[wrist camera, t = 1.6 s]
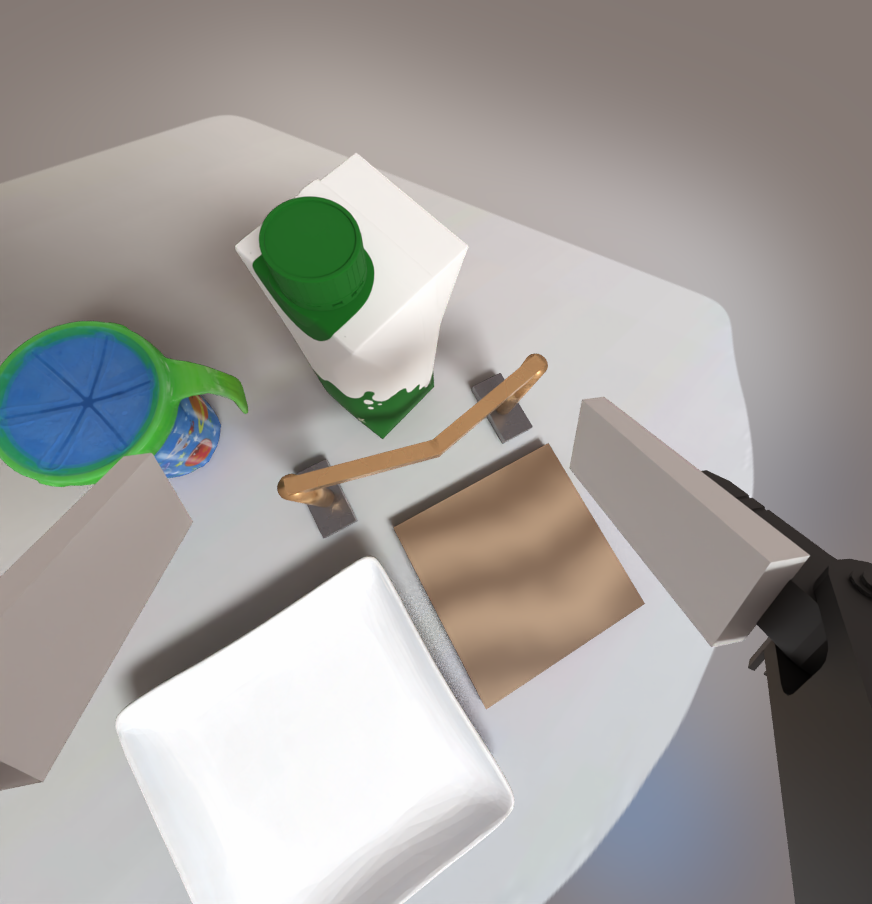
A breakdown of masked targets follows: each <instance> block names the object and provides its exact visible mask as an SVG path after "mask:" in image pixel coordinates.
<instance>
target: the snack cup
mask: <svg viewBox="0 0 872 904" xmlns="http://www.w3.org/2000/svg"><path fill="white" fill-rule="evenodd" d="M206 393H210V394H215V395H217V396H221V397H225V398H228V399H231V400H233V401H234V402H235V403H236V404H237V406H238V407H239V408H240V409H241V411H242V412H243V413H244V414H247V413H248V406H247V402H246V398H245V394H244V390H243V387H242V385H241V382H240V381H239V380H238V379H237V378H235V377H233V376H232V375H228V374H226V373H223V372H221V371H218V370H215V369H213V368H210V367H207V366H204V365H200V364H196V363H191V362H187V361H180V360H173V359H169V358H166V357H164V355H163V354H162V353H161V352H160V351H159V350H158V349H157V348H156V347H154V346H153V345H152V344H151V343H150V342H148V341H147V340H146V339H144V338H143V337H141V336H140V335H138V334H137V333H135V332H133V331H131V330H129V329H128V328H127V327H125V326H123V325H120V324H116V323H110V322H109V323H105V322H98V321H79V322H72V323H67V324H63V325H59V326H56V327H53V328H50V329H48V330H45V331H43V332H41V333H39V334H37V335H35V336H34V337H32V338H31V339H29V340H27V341H26V342H24V343H23V344H22V345H20V346H19V347H18V348H17V349H16V350H15V351H13V352H12V353H11V354H10V355H9V356H8V358H7V359H6V360H5V361H4V362H3V363H2V365H1V366H0V458H1V459H2V460H3V461H4V462H5V463H6V464H7V465H8V466H9V467H11V468H12V469H13V470H14V471H16V472H18V473H20V474H22V475H24V476H26V477H29V478H32V479H35V480H37V481H38V482H39V483H40V484H45V485H49V486H56V487H65V486H70V485H73V486H83V485H91V484H96V483H97V482H98V481H99V480H100V479H101V478H102V477H103V476H104V475H105V474H106V473H107V472H108V471H109V470H110V469H111V468H112V467H113V466H114V465H115V464H116V463H117V462H118V461H119V460H121V459H122V458H123V457H124V456H131V455H139V454H147V453H152V454H153V455H154V457H155V459H156V460H157V462H158V464H159V465H160V467H161V469H162V470H163V472H164V474H165V475H166V477H167V478H173V477H180V476H183V475H186V474H189V473H191V472H193V471H195V470H196V469H198V468H200V467H203V466H204V465H205V464H206V463H207V462H209V460H210V458H211V456H212V454H213V453H214V451H215V449H216V447H217V444H218V441H219V436H220V427H221V424H220V422H219V419H218V417H217V416H216V414H215V412H214V410H213V409H212V408H211V407H210V405H209V404H208V403H207V402H206V400H204V399H203V398H202V397H201V396H200V395H201V394H206Z"/></svg>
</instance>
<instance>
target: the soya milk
mask: <svg viewBox="0 0 872 904" xmlns="http://www.w3.org/2000/svg"><path fill="white" fill-rule="evenodd" d="M467 249H468V245H467V244H465V243H464V242H463V241H462V240H461V239H459V238H458V237H457V236H456V235H455V234H453V233H452V232H451V231H450V230H449V229H447V228H446V227H445V226H444V225H443V224H441V223H440V222H439V221H438V220H437V219H435V218H434V217H433V216H432V215H431V214H429V213H428V212H427V211H426V210H425V209H423V208H422V207H421V206H420V205H419V204H417V203H416V202H415V201H414V200H413V199H411V198H410V197H409V196H408V195H407V194H405V193H404V192H403V191H402V190H401V189H399V188H398V187H397V186H396V185H395V184H393V183H392V182H391V181H390V180H389V179H387V178H386V177H385V176H384V175H383V174H381V173H380V172H379V171H378V170H377V169H375V168H374V167H373V166H372V165H371V164H369V163H368V162H367V161H366V160H364V159H363V158H362V157H361V156H360V155H358V154H357V153H355V154H354V155H352V156H351V157H350V158H348V159H347V160H346V161H344V162H343V163H342V164H341V165H339V166H338V167H337V168H336V169H334V170H333V171H332V172H330V173H329V174H328V175H327V176H325V177H324V178H323V179H322V180H319V179H316V180H314V181H312V182H311V183H310V184H308V185H307V186H306V187H305V188H303V189H302V190H301V191H300V193H299V194H298V195H297V196H296V197H295V198H293V199H291V200H288V201H286V202H284V203H282V204H280V205H278V206H277V207H276V208H274V209H273V210H272V211H271V212H270V213H269V214H268V215H267V217H266V218H265V220H264V221H263V223H262V224H261V225H260V226H258V227H257V228H256V229H255V230H253V231H252V232H251V233H250V234H248V235H247V236H246V237H245V238H243V239H242V240H241V241H240V242H239V243H237V244H236V245H235V250H236V252H237V253H238V255H239V256H240V258H241V259H242V261H243V262H244V263H245V265H246V266H247V268H248V269H249V271H250V272H251V274H252V275H253V277H254V278H255V280H256V281H257V283H258V284H259V286H260V287H261V289H262V290H263V292H264V293H265V295H266V296H267V298H268V299H269V301H270V302H271V304H272V305H273V307H274V308H275V310H276V311H277V313H278V314H279V316H280V317H281V319H282V320H283V322H284V323H285V325H286V326H287V328H288V329H289V331H290V332H291V334H292V336H293V337H294V339H295V341H296V342H297V344H298V345H299V347H300V349H301V350H302V352H303V354H304V355H305V357H306V359H307V360H308V362H309V363H310V365H311V367H312V368H313V370H314V372H315V373H316V375H317V377H318V378H319V380H320V381H321V383H322V385H323V386H324V388H325V389H326V391H327V392H328V393H329V394H330V395H331V396H332V397H333V398H334V399H335V400H336V401H337V402H339V403H340V404H341V405H342V406H343V407H344V408H345V409H346V410H347V411H349V412H350V413H351V414H352V415H353V416H354V417H356V418H357V419H358V420H359V421H361V422H362V423H363V424H364V425H366V426H367V427H368V428H369V429H371V430H372V431H373V432H374V433H376V434H377V435H378V436H379V437H381V438H382V439H383V438H384V437H385V436H386V435H387V434H388V433H389V432H390V431H391V430H392V429H393V428H394V427H395V426H396V425H397V424H398V423H399V422H400V421H401V420H402V419H403V418H404V417H405V416H406V415H407V414H408V413H409V412H410V411H411V410H412V409H413V408H414V407H415V406H416V405H417V404H418V403H419V402H420V401H421V400H422V399H423V398H424V396H425V395H426V394H427V393H428V392H429V391H430V390H431V389H432V388H433V387H434V377H433V367H434V361H435V355H436V349H437V342H438V336H439V330H440V325H441V321H442V318H443V315H444V312H445V310H446V307H447V304H448V301H449V298H450V296H451V293H452V290H453V287H454V284H455V282H456V279H457V276H458V273H459V271H460V268H461V265H462V262H463V260H464V257H465V254H466V252H467Z"/></svg>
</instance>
